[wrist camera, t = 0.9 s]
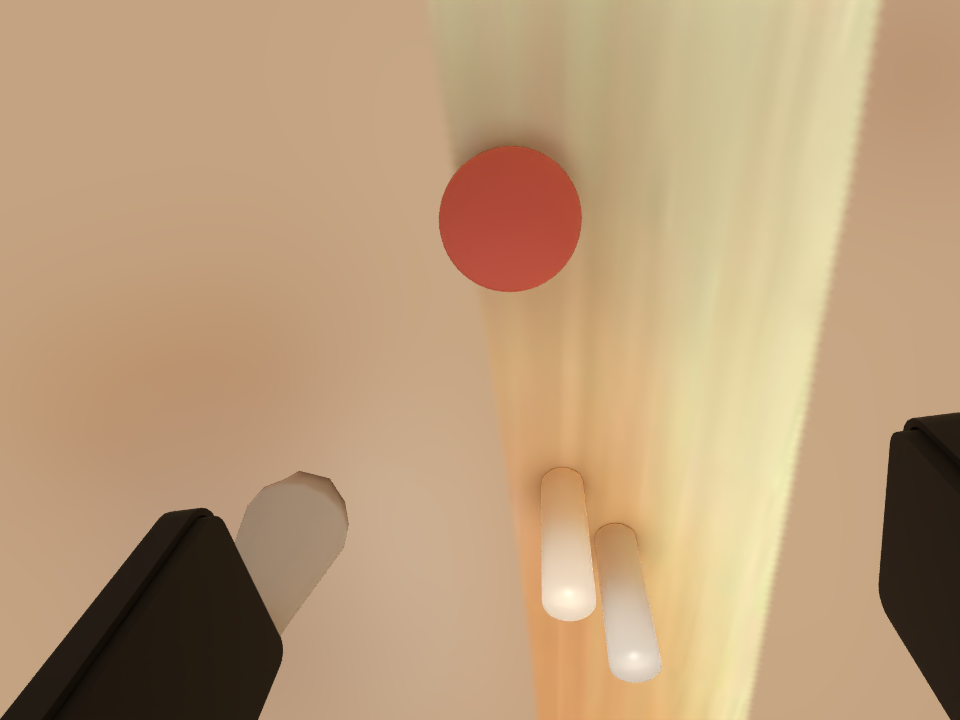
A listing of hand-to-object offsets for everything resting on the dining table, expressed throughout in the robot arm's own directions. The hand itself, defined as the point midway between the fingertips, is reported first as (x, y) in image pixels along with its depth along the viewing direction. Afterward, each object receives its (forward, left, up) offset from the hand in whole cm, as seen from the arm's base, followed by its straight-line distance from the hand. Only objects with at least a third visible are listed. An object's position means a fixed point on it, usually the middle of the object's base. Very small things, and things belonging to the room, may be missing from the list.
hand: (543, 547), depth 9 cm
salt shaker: (+15, -16, -23) cm, 32 cm away
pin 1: (+16, -1, -23) cm, 28 cm away
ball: (0, -1, -20) cm, 20 cm away
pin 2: (+20, +1, -23) cm, 30 cm away
